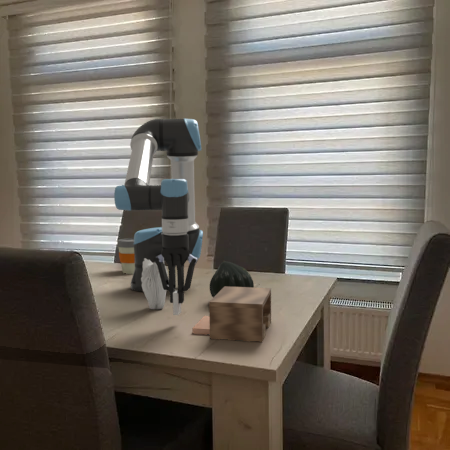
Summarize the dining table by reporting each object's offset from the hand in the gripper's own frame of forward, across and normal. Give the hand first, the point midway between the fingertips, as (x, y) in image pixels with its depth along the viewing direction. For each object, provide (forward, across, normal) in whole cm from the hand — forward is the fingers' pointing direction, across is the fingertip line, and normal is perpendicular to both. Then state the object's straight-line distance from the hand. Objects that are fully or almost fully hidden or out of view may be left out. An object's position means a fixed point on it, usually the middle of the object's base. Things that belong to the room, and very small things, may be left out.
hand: (177, 313), depth 135 cm
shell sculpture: (+4, -13, +15) cm, 20 cm away
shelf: (+3, +19, -1) cm, 20 cm away
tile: (+4, +16, -1) cm, 16 cm away
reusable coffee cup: (+5, -46, +71) cm, 84 cm away
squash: (+4, +10, +27) cm, 29 cm away
